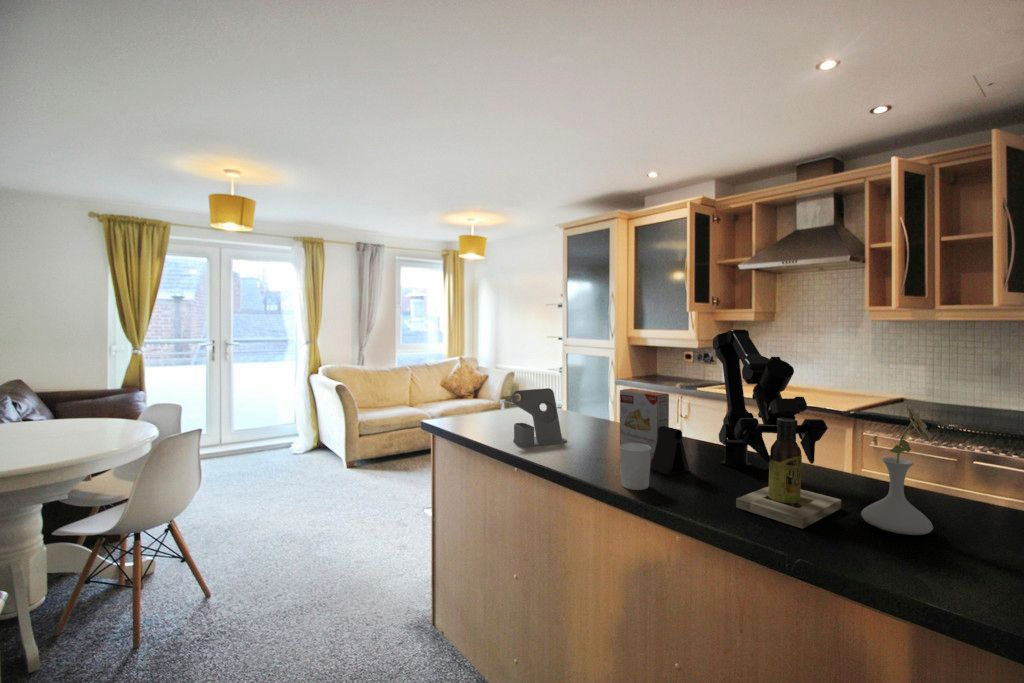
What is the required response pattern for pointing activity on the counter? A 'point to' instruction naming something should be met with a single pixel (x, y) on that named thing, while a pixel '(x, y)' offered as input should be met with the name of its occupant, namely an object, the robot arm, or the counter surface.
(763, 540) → the counter surface
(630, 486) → the white cup
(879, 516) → the flower in vase
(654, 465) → the door stopper
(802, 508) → the board
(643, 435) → the cracker box
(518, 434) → the phone holder
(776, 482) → the sauce bottle
